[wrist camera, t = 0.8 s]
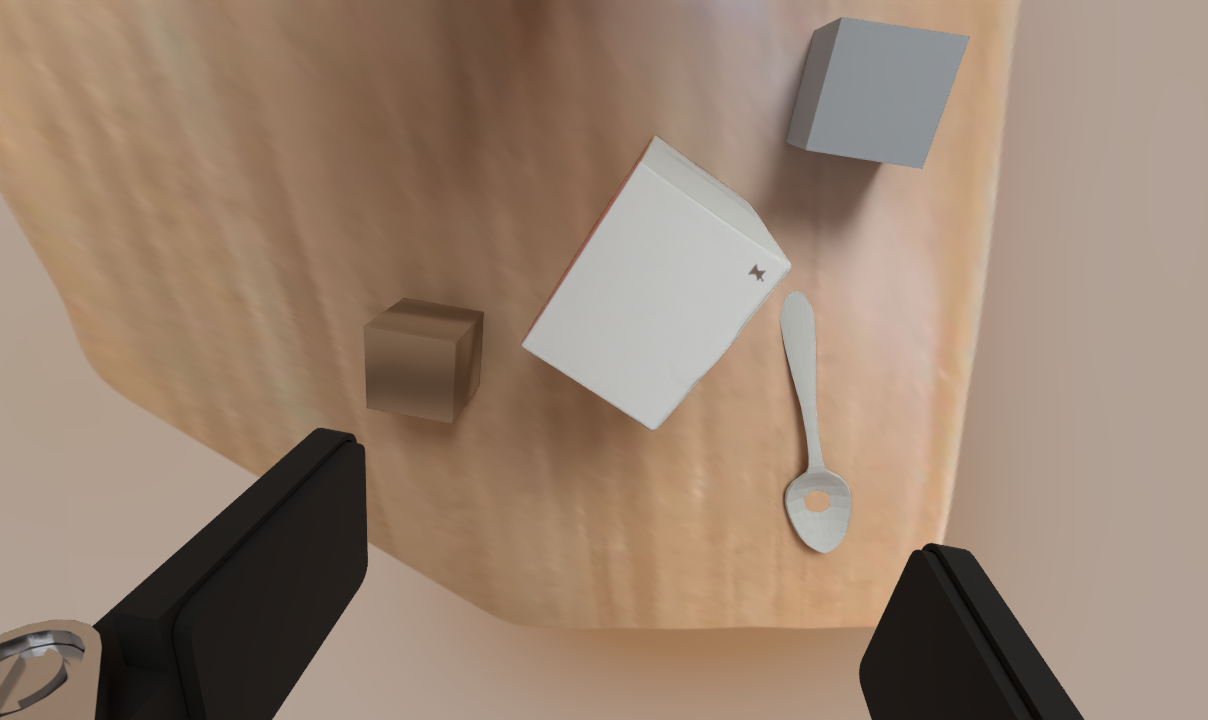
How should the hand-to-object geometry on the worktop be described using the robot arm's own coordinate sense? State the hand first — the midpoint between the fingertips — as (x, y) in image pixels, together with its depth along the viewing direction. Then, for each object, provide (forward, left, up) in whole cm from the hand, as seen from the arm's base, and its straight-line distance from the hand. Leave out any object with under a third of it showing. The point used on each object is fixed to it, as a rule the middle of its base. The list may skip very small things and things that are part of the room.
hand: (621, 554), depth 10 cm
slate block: (-8, +8, -25) cm, 27 cm away
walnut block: (+9, -12, -25) cm, 29 cm away
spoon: (+9, +11, -25) cm, 29 cm away
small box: (0, 0, -25) cm, 25 cm away
